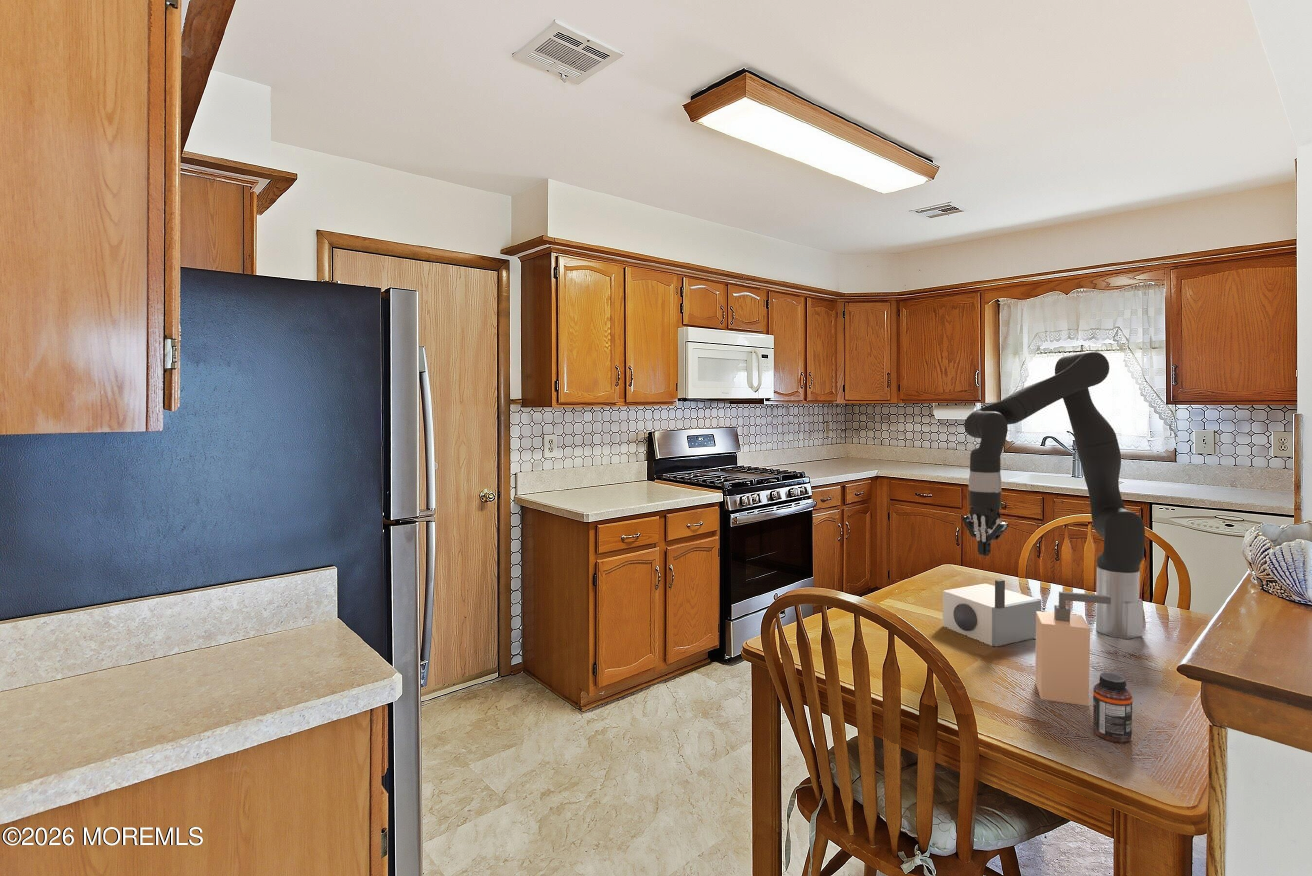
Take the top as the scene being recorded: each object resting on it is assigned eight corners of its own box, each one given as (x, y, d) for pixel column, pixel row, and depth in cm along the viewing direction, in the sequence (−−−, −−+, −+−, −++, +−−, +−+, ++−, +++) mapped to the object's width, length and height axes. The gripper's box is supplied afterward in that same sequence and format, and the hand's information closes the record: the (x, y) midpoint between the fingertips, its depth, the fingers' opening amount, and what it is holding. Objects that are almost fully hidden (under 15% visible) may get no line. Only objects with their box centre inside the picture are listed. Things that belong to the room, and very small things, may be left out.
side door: (1043, 636, 170) (1044, 573, 169) (997, 646, 164) (997, 581, 163) (1038, 634, 171) (1038, 572, 170) (992, 644, 165) (992, 580, 164)
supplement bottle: (1094, 724, 125) (1095, 667, 124) (1132, 734, 121) (1133, 675, 121) (1090, 737, 120) (1091, 678, 120) (1130, 747, 117) (1131, 686, 116)
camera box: (1036, 636, 171) (1036, 598, 170) (989, 646, 165) (989, 607, 164) (985, 617, 186) (985, 583, 185) (940, 626, 180) (940, 591, 179)
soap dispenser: (1040, 699, 136) (1041, 596, 134) (1035, 682, 144) (1036, 585, 142) (1113, 709, 131) (1115, 602, 129) (1103, 692, 139) (1105, 590, 137)
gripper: (953, 486, 172) (952, 551, 173) (996, 493, 159) (995, 562, 160) (974, 485, 175) (973, 548, 176) (1018, 491, 162) (1017, 559, 163)
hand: (984, 555), depth 168 cm, fingers closed
